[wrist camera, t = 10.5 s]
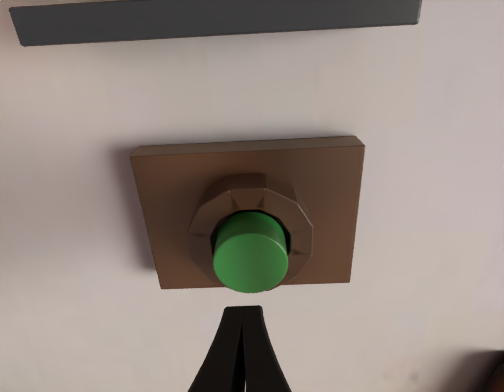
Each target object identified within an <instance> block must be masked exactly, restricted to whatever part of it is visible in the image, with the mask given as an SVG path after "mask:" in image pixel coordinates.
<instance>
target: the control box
mask: <svg viewBox="0 0 504 392" xmlns="http://www.w3.org/2000/svg"><path fill="white" fill-rule="evenodd" d="M364 152H365V145H364V144H363V143H362V142H361V141H360V140H359V139H358V138H357V137H356V136H345V137H324V138H303V139H282V140H261V141H240V142H219V143H198V144H177V145H156V146H140V147H139V148H138V149H137V150H136V151H135V152H134V153H133V154H132V155H131V156H130V159H131V163H132V168H133V172H134V176H135V180H136V185H137V189H138V193H139V198H140V202H141V206H142V210H143V215H144V219H145V223H146V227H147V232H148V236H149V240H150V244H151V249H152V253H153V257H154V261H155V266H156V270H157V274H158V278H159V283H160V287H161V289H184V288H212V287H227V286H226V285H224V284H223V283H222V282H221V281H220V280H219V279H218V277H217V276H216V274H215V271H214V268H213V256H214V250H215V245H216V239H217V234H218V231H219V229H220V227H221V226H222V224H223V223H224V222H225V221H226V220H227V219H229V218H230V217H232V216H234V215H236V214H239V213H243V212H259V213H263V214H265V215H268V216H269V217H271V218H273V219H274V220H275V221H276V222H277V223H278V224H279V225H280V226H281V228H282V230H283V232H284V236H285V243H286V249H287V256H288V268H287V272H286V274H285V276H284V277H283V279H282V280H281V281H280V282H279V283H278V284H277V285H276V286H274V287H272V288H271V289H268V290H266V291H269V290H272V289H274V288H276V287H278V286H280V285H297V284H325V283H349V282H350V276H351V267H352V258H353V249H354V241H355V232H356V223H357V214H358V205H359V197H360V188H361V179H362V170H363V161H364ZM227 288H229V287H227ZM230 289H231V288H230ZM232 290H233V289H232ZM237 292H238V291H237Z"/></svg>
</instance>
